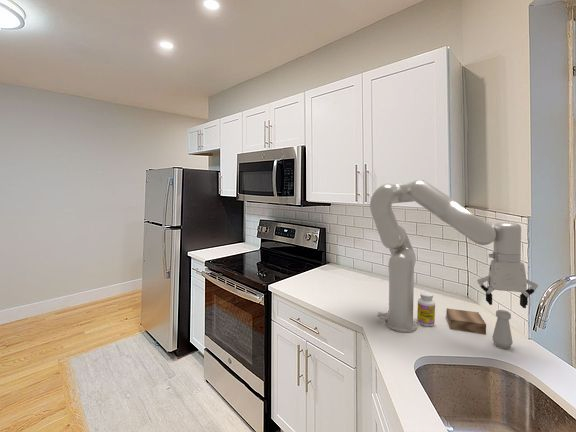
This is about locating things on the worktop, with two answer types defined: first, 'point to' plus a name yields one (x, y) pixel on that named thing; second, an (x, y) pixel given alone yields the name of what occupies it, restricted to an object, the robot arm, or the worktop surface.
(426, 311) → the supplement bottle
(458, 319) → the walnut riser block
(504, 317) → the salt shaker
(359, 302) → the worktop surface
